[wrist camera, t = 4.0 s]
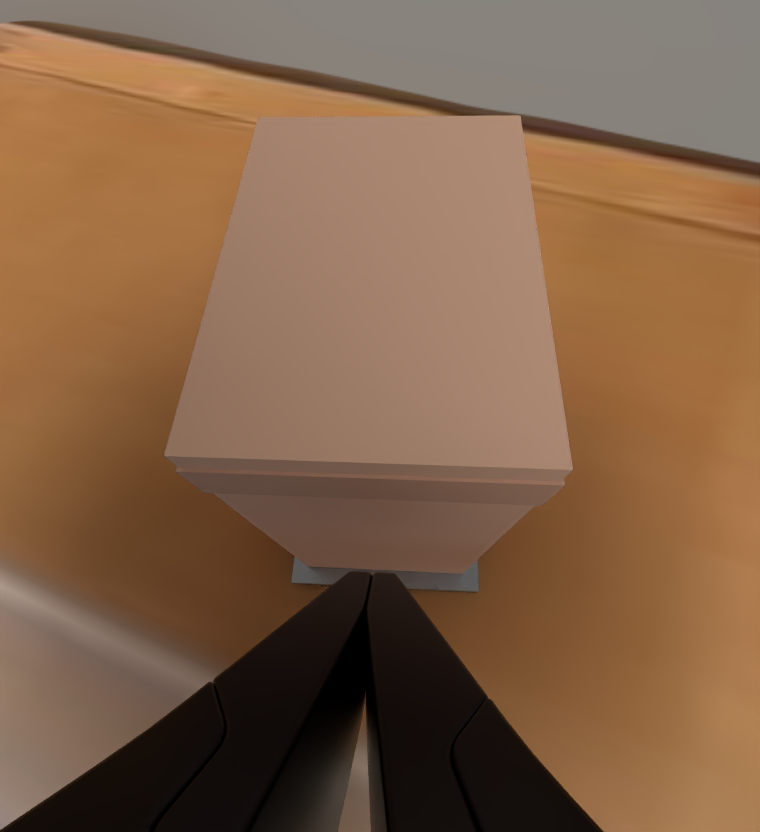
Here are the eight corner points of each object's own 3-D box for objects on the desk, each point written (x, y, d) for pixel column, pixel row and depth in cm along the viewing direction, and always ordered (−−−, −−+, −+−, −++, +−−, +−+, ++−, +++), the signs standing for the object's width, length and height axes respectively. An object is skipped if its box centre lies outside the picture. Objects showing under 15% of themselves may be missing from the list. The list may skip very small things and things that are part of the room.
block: (464, 575, 14) (577, 474, 5) (306, 568, 15) (158, 459, 6) (458, 383, 17) (522, 114, 8) (328, 380, 18) (255, 115, 9)
